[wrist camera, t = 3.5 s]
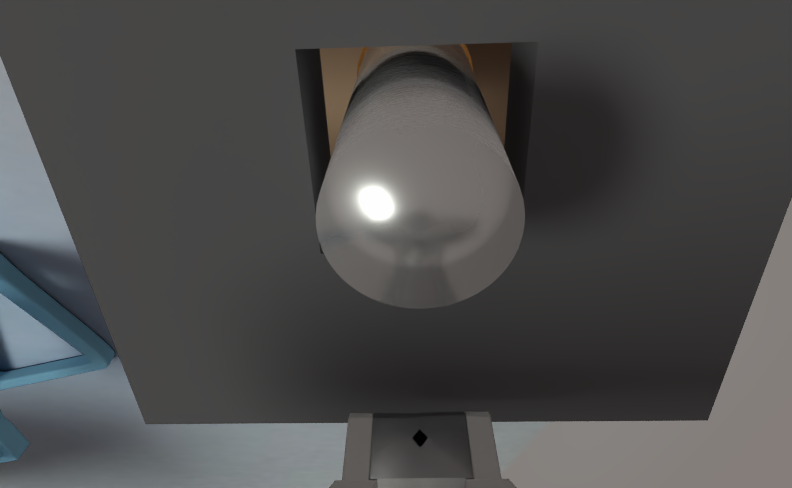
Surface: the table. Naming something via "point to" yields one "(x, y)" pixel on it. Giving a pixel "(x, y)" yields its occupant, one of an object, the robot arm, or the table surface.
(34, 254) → the table surface
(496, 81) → the board
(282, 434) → the table surface
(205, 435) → the table surface
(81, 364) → the chair
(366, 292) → the post
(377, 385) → the collar
